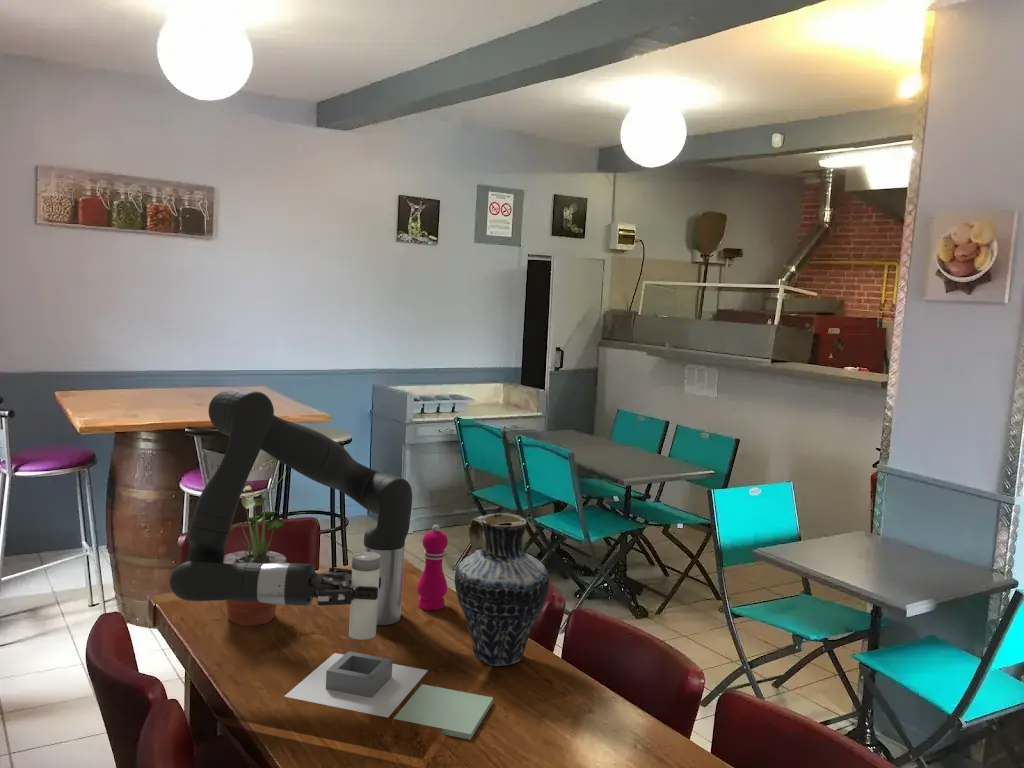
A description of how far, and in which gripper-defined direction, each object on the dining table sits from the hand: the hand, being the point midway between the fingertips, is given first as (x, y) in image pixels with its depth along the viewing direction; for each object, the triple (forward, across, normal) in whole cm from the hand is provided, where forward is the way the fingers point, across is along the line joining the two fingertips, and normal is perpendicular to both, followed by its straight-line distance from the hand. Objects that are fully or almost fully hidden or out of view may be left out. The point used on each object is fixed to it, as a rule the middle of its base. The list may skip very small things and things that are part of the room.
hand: (378, 588), depth 156 cm
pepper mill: (+9, +43, +20) cm, 49 cm away
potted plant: (-31, +32, +20) cm, 49 cm away
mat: (+13, -9, +19) cm, 25 cm away
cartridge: (-3, 0, +9) cm, 9 cm away
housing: (-3, 0, +19) cm, 20 cm away
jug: (+23, +16, +20) cm, 34 cm away
